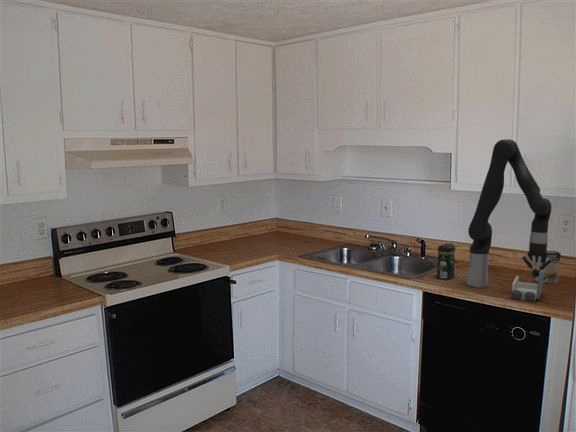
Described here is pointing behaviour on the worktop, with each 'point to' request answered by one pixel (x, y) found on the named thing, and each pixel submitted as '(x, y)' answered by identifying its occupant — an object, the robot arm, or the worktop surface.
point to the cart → (523, 290)
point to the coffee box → (551, 268)
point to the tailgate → (540, 284)
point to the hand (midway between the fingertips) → (535, 277)
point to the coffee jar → (446, 261)
